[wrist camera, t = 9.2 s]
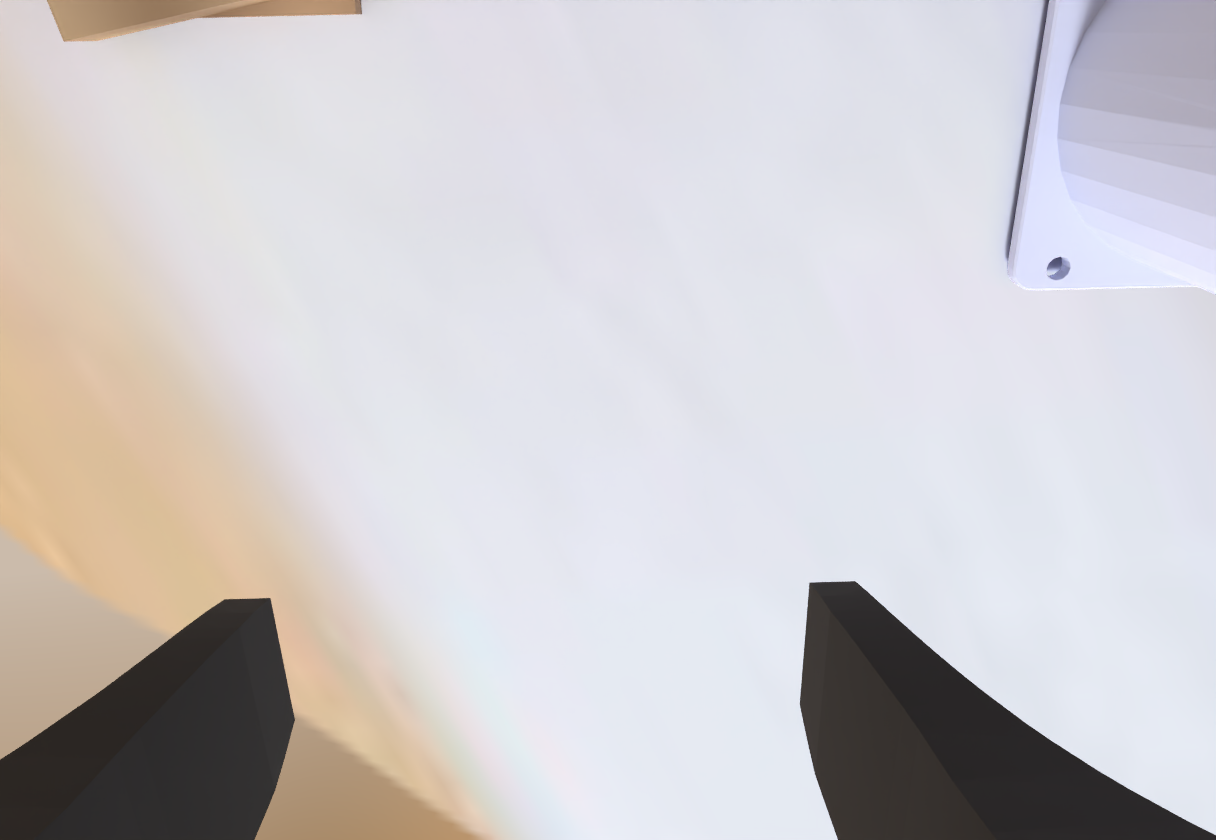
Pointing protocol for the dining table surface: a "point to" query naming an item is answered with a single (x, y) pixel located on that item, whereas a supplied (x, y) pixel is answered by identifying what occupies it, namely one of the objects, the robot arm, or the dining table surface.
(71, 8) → the slab top
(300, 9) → the slab bottom
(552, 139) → the dining table surface
